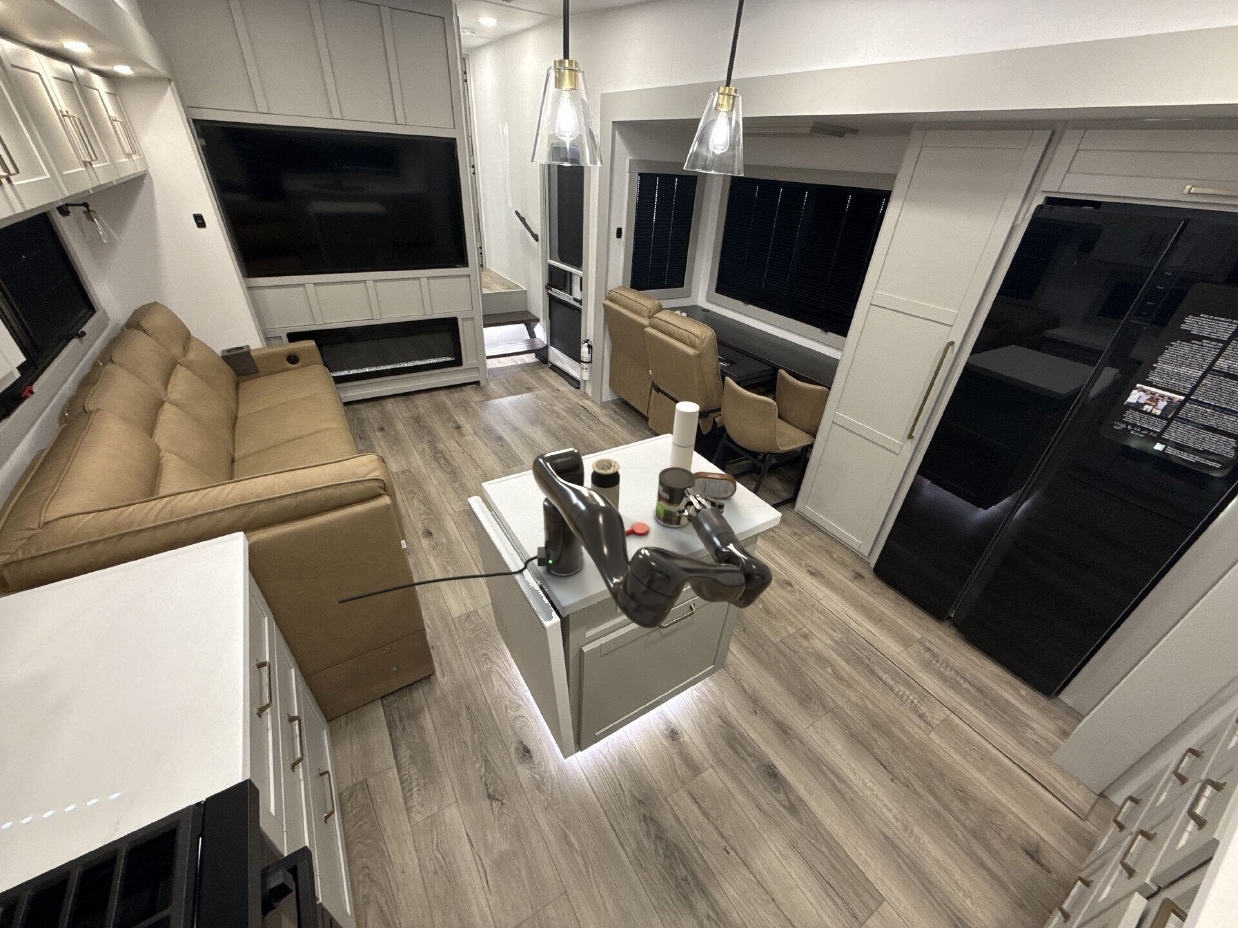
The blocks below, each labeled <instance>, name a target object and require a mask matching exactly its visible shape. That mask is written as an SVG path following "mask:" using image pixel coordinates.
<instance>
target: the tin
mask: <svg viewBox="0 0 1238 928" xmlns="http://www.w3.org/2000/svg"><path fill="white" fill-rule="evenodd" d="M693 474H694V476H695V478H696V480H695V484H694V490H695V491H696V493H697V494H698V495H700V496H701V497H703V496H708V497H711V498H713V499H716V500H726V499H730V498H732V497H733V496H734V495H735V494H736V491H737V489H738V488H737V487H738V486H737V480H736V479H735V477H734V476H733V475H731V474H728V473H721V472H711V471H695V472H693Z"/></svg>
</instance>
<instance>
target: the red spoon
mask: <svg viewBox="0 0 1238 928" xmlns="http://www.w3.org/2000/svg"><path fill="white" fill-rule="evenodd" d="M648 532H649V526H648V525H647V524H646V523H645V522H636V523H634V524H632V526H631V528H630V529H627V530H625V533H626V536H628V535H630V534H634V535H637V536H645V535H646V534H648Z"/></svg>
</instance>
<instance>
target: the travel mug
mask: <svg viewBox="0 0 1238 928" xmlns="http://www.w3.org/2000/svg"><path fill="white" fill-rule="evenodd" d="M620 467H621V466H620V464H619V462H618V461H617V460H614V459H612V458H599V459H596V460H595V461H593V462H592V464H591V469H592V470H593V471H592V472H591V474H590V488H591V489H594V490H596V491H598V492H600V493H602V494H603V495H604V496H605V497H606V498H607V499H608V500H609V501H610V502H611V503H612V504H613V505H614V506H615V508H616V509H617V510H618V511H619V512H620V509H619V508H620V507H619V506H620V486H621V485H620V484H621V474H620V471H619V470H620Z"/></svg>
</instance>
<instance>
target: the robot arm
mask: <svg viewBox="0 0 1238 928" xmlns="http://www.w3.org/2000/svg"><path fill="white" fill-rule="evenodd" d="M531 472H532V476H533V479H534V481H535V483H536V485H537V487H538V489H539V491H541V493H542V494H543V495H544V496H545V497H544V499H543V501H542V515H543V516H542V518H543V528H544V529H543V532H544V546H537V547H536V548H537V551H536V555H534V556H531V557H529V558H528V559H526V560H525V562H524V564H523V567H522V568H521V569H518V570H515V571H503V572H502V571H501V572H493V573H492V572H491V573H483V574H468V575H460V576H459V575H457V576H447V577H442V578H436V579H435V578H433V579H427V580H422V581H416V582H410V583H406V584H401V585H396V586H392V587H388V588H384V589H380V590H376V591H371V592H367V593H363V594H359V595H355V596H351V597H347V598H343V599H339V600H338V601H337V603H338V604H339V605H340V604H344V603H348V602H352V601H357V600H360V599H364V598H368V597H372V596H377V595H381V594H385V593H390V592H394V591H398V590H402V589H407V588H411V587H417V586H422V585H428V584H429V585H430V584H435V583H441V582H442V583H443V582H450V581H460V580H468V579H482V578H493V577H500V576H513V575H517V574H521V573H523V572H524V571H526V570H527V568H528V565H529V563H531V562H532V561H535V560H536V562H537V564H536V565H537V567H545V572H546V574H549V573H550V574H553V575H554V576H558V577H569V576H572V575H574V574H576V573H578V572H579V571H581V569H582V567H583V564H584V562H583V561H584V560H583V555H584V551H586V553H587V554H588V556H589V557H590V559H591V561H592V563H594V566H595V567H596V569H597V571H598V573H599V574H600V577H601V578H602V581H603V583H604V585H605V587H606V589H607V591H608V593H609V594H610V596H611V598H612V600H613V602H614V603H615V605H616V606H617V608H618V609H619V610H620V611H621V613H622V614H623V615H624V616H625V617H626V618H627V619H628V620H629V621H631V622H632V623H633V624H635V625H637V626H639V627H641V628H644V629H648V630H651V629H655V628H659V627H660V626H661V625H662V624H663V623H664V621H665V620H666V619H667V617H668V616H669V614H670V613H671V611H672V610H673V608H674V607H675V604H676V603H677V601H678V599H679V598H680V596H681V594H682V592H683V591H684V588H685V585H686V584H688V585H689V587H690V589H691V590H692V592H693V593H694V594H695V595H696V596H697V597H698V598H699V599H701V600H703V601H705V602H709V603H729V604H731V605H733V606H734V607H736V608H738V609H746V608H749V607H751V606H752V605H753V604H754V603H755V602H756V601H757V600H758V599H759V597H761V595H762V594H763V593H765V591H766V590H767V589H768V588H769V586H770V585H771V584H772V582H773V573H772V570H771V569H770V567H769V566H768V565H767V564H766V563H765V562H763V561H762V560H761V559H759V558H758V557H756V556H755V555H753V554H752V553H751V552H749V550H747V548H745V546H744V545H743V544H742V542H741V541H740V540H739V539H738V537H737V535H736V533H735V531H734V529H733V527H732V526H731V525H730V524H729V522H728V520H727V519H726V517H725V516H724V515H723V514H724V512H725V505H726V503H725V502H723V501H720V500H719V499H716V498H711V497H708V496H703V497H701V496H700V495H698V494H697V493H696V491H695V490H693V489H692V488H687V489H686V490H685V493H684V497H685V498H684V499H683V501H682V502H681V504H680V505H679V507H678V509H677V518H678V519H681V518H682V517H685V518H687V520H688V521H689V522H688V523H690V524H691V526H692V529H693V530H694V531H695V533H696V535H697V537H698V538H699V540H700V542H701V543H702V545H703V547H704V548H705V549H706V550H707V552H708V553H709V554H710V556H711V558H712V561H714V562H708V561H704V560H701V559H698V558H695V557H692V556H690V555H686V554H683V553H680V552H677V551H673V550H670V549H666V548H663V547H659V546H658V547H657V546H653V545H652V546H651V545H650V546H649V545H647V546H642V547H640V548H638V549H637V550H636V551H635V552H634V554H633V555H632V557H631V559H630V558H629V550H628V543H627V541H628V540H627V535H626V533H625V531H626V528H625V523H624V519H623V517H622V515H621V512H620V510H619V511H618V510H617V509H616V508H615V506H614V505H613V504H612V503H611V502H610V501H609V500H608V499H607V498H606V497H605V496H604V495H603V494H602V493H600V492H598V491H596V490H594V489H591V487H587V486H585V464H584V460H583V457H582V455H581V452H579V450H578V449H577V448H574V447H568V448H563V449H562V448H561V449H558V450H552V451H547V452H544V453H540V454H539V455H537V456H536V457H534V459H533V461H532V465H531ZM688 506H689V507H690V510H689V512H688V513H687V512H686V511H687V510H686V509H687V507H688ZM583 548H584V551H583Z"/></svg>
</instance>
